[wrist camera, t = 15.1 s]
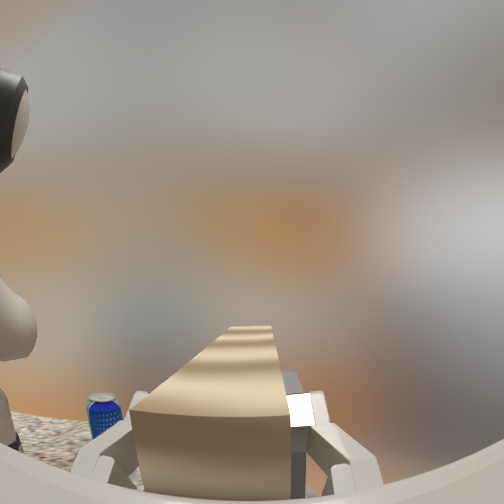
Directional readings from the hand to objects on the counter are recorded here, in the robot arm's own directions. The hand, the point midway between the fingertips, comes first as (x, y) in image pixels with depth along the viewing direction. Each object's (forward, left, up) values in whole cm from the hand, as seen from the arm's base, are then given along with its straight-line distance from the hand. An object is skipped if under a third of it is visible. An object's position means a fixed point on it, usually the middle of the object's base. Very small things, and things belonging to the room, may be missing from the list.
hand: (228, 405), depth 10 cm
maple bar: (+4, +7, -2) cm, 8 cm away
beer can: (-8, +60, -35) cm, 70 cm away
